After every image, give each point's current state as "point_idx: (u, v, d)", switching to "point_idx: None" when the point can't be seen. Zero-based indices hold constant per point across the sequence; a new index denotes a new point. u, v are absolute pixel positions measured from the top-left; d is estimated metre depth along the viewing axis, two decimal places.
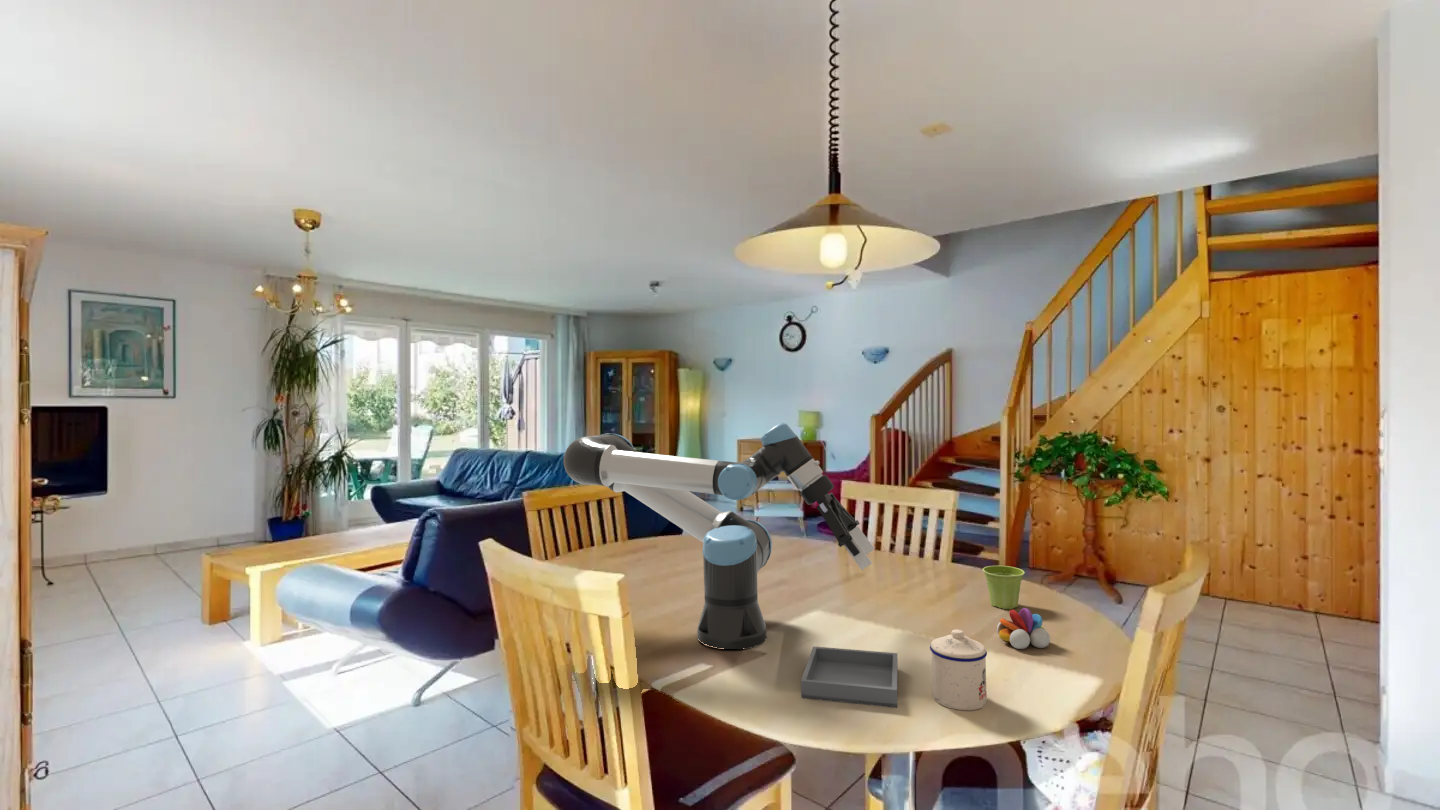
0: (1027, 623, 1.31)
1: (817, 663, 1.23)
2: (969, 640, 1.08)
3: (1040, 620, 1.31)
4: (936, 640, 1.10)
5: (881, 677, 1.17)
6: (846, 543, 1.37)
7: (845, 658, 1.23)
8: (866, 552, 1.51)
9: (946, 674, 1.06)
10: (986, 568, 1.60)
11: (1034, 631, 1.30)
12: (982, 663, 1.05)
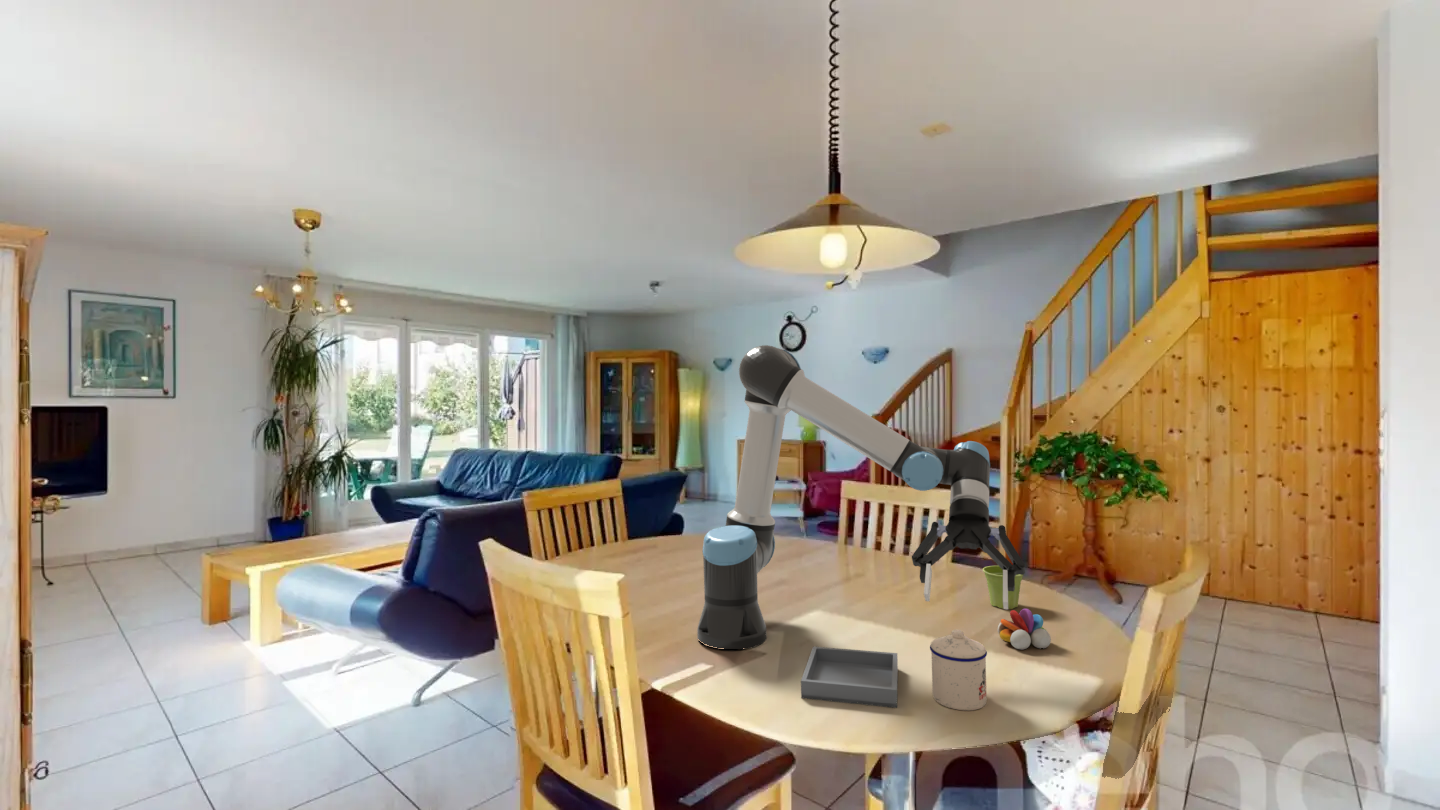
0: (1028, 623, 1.31)
1: (817, 663, 1.23)
2: (969, 640, 1.08)
3: (1041, 620, 1.31)
4: (936, 640, 1.10)
5: (881, 677, 1.17)
6: (1015, 573, 1.18)
7: (845, 658, 1.23)
8: (928, 594, 1.20)
9: (946, 674, 1.06)
10: (986, 568, 1.60)
11: (1035, 631, 1.30)
12: (982, 663, 1.05)
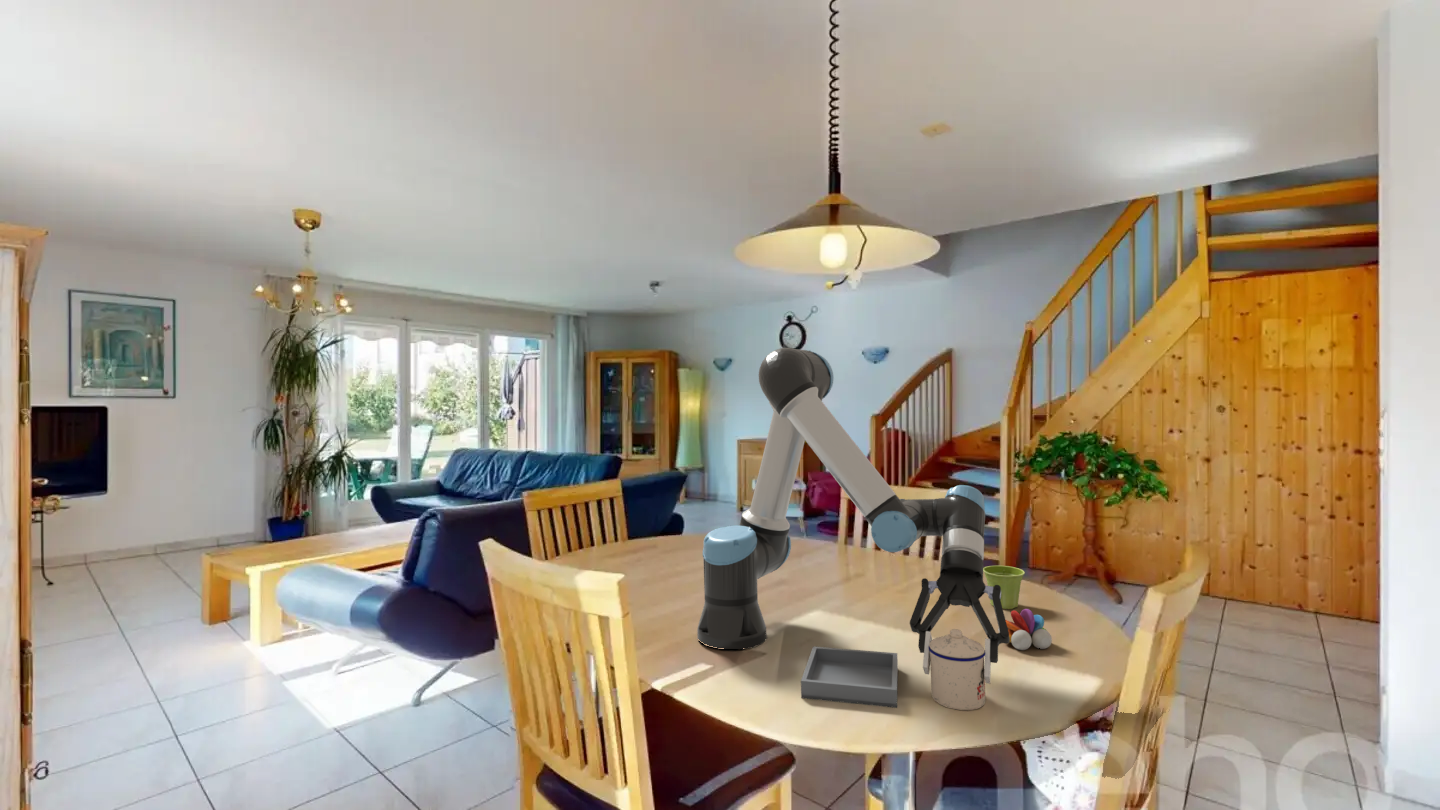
0: (1029, 624, 1.30)
1: (817, 663, 1.23)
2: (967, 640, 1.08)
3: (1042, 621, 1.31)
4: (935, 640, 1.10)
5: (881, 677, 1.17)
6: (998, 642, 1.08)
7: (845, 658, 1.23)
8: (927, 667, 1.09)
9: (944, 674, 1.06)
10: (986, 568, 1.60)
11: (1036, 632, 1.29)
12: (980, 663, 1.05)
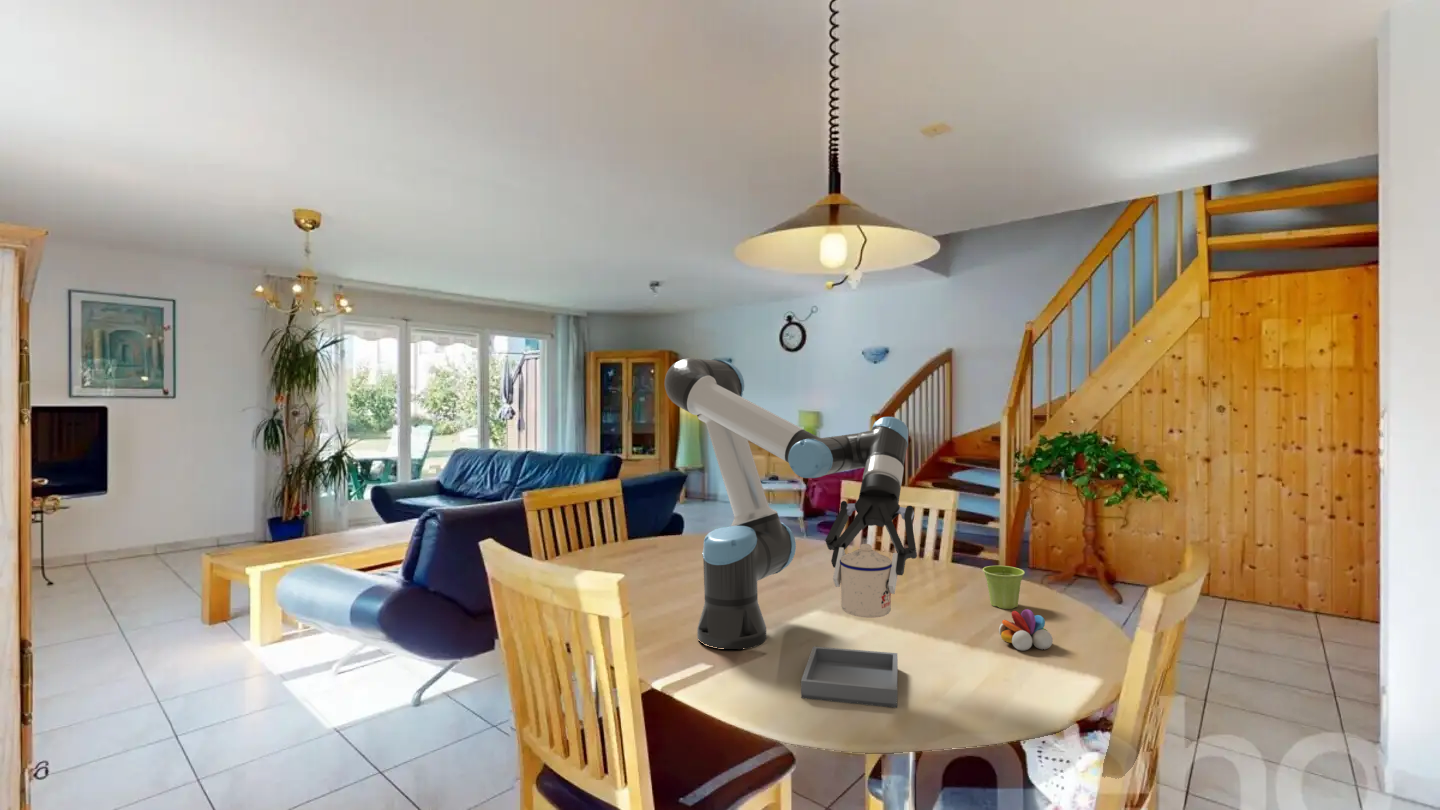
0: (1029, 624, 1.30)
1: (817, 663, 1.23)
2: (876, 553, 1.12)
3: (1042, 621, 1.31)
4: (846, 554, 1.15)
5: (881, 677, 1.17)
6: (905, 556, 1.13)
7: (845, 658, 1.23)
8: (837, 579, 1.14)
9: (851, 583, 1.11)
10: (986, 568, 1.60)
11: (1036, 632, 1.29)
12: (886, 573, 1.10)
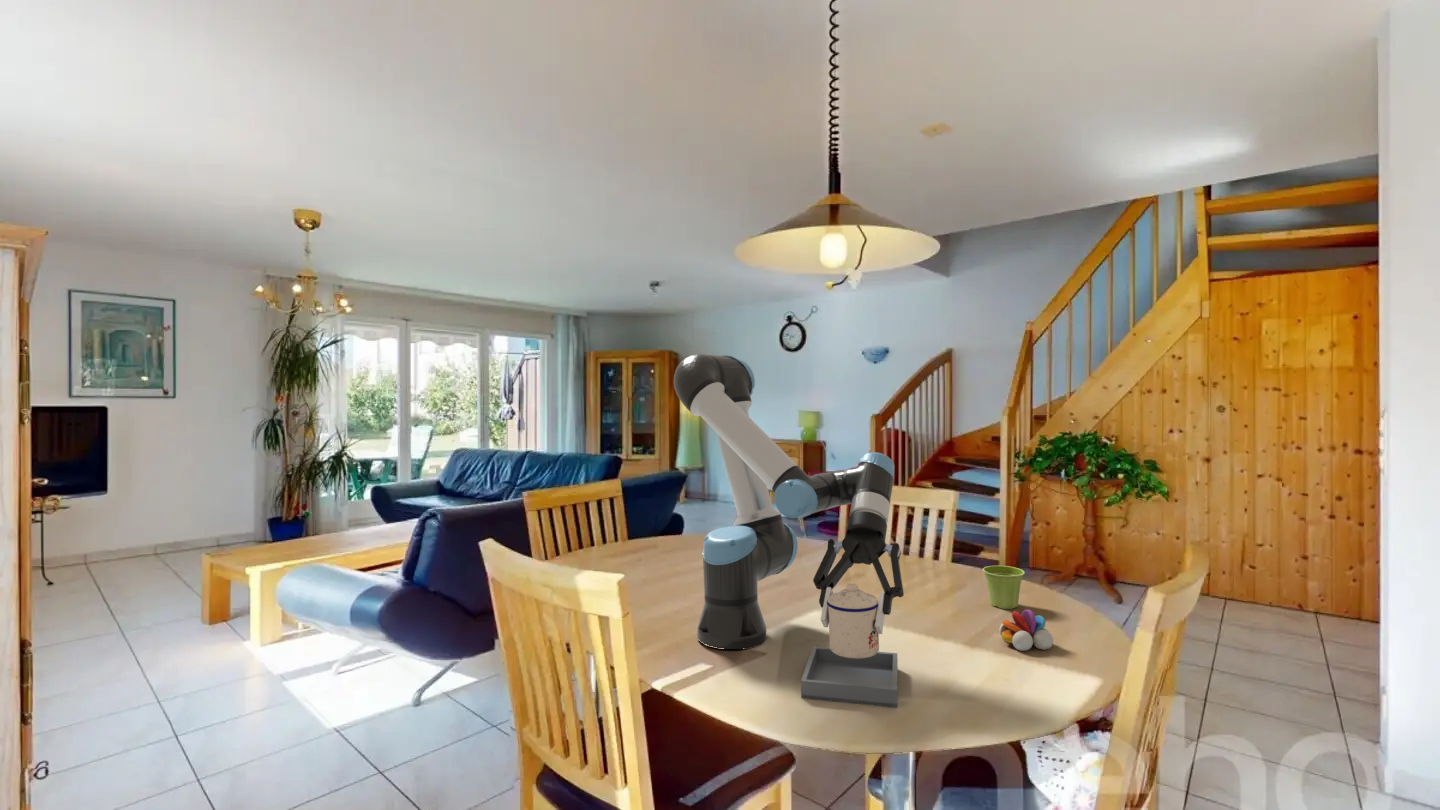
0: (1030, 625, 1.30)
1: (817, 663, 1.23)
2: (862, 593, 1.13)
3: (1043, 622, 1.30)
4: (833, 594, 1.16)
5: (881, 677, 1.17)
6: (892, 595, 1.14)
7: (845, 658, 1.23)
8: (825, 619, 1.14)
9: (838, 625, 1.11)
10: (986, 568, 1.60)
11: (1037, 633, 1.29)
12: (872, 614, 1.11)
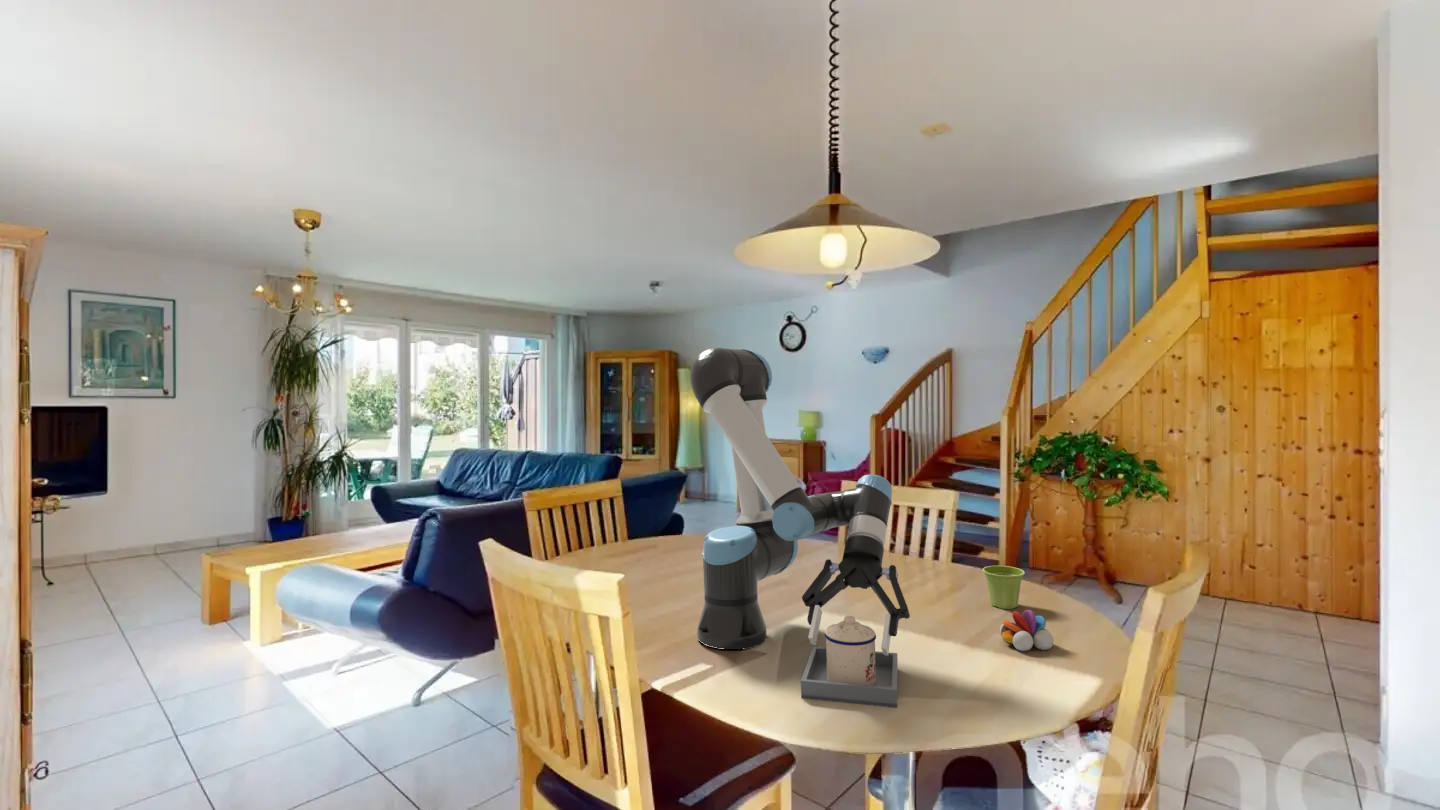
0: (1030, 625, 1.30)
1: (817, 663, 1.23)
2: (859, 626, 1.14)
3: (1043, 622, 1.30)
4: (831, 626, 1.17)
5: (881, 677, 1.17)
6: (898, 617, 1.14)
7: None
8: (813, 637, 1.16)
9: (836, 657, 1.12)
10: (986, 568, 1.60)
11: (1037, 633, 1.29)
12: (869, 647, 1.11)
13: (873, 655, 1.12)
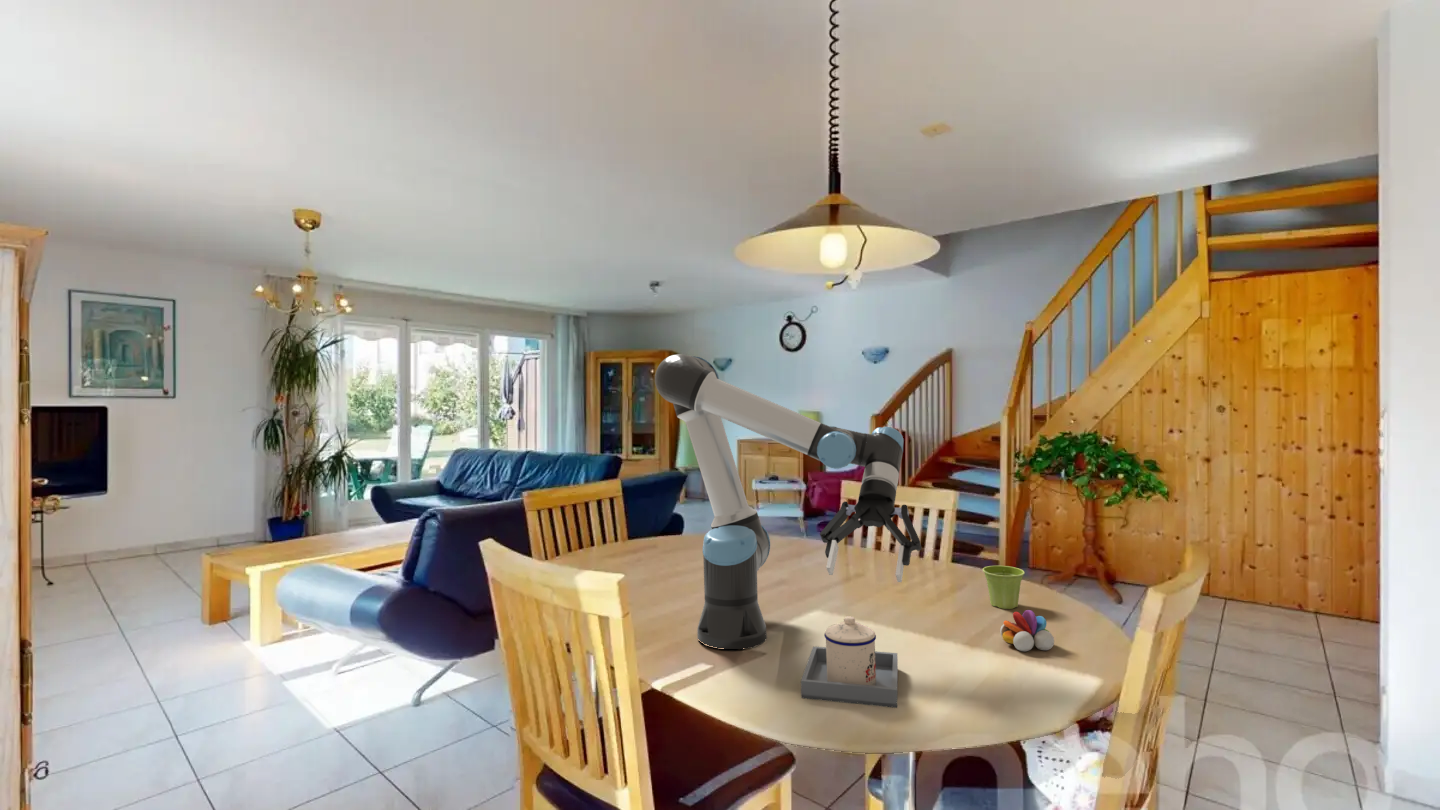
0: (1031, 625, 1.30)
1: (817, 663, 1.23)
2: (859, 626, 1.14)
3: (1044, 622, 1.30)
4: (831, 626, 1.16)
5: (881, 677, 1.17)
6: (911, 548, 1.25)
7: None
8: (830, 567, 1.28)
9: (836, 658, 1.12)
10: (986, 568, 1.60)
11: (1038, 633, 1.29)
12: (869, 647, 1.11)
13: (873, 655, 1.12)
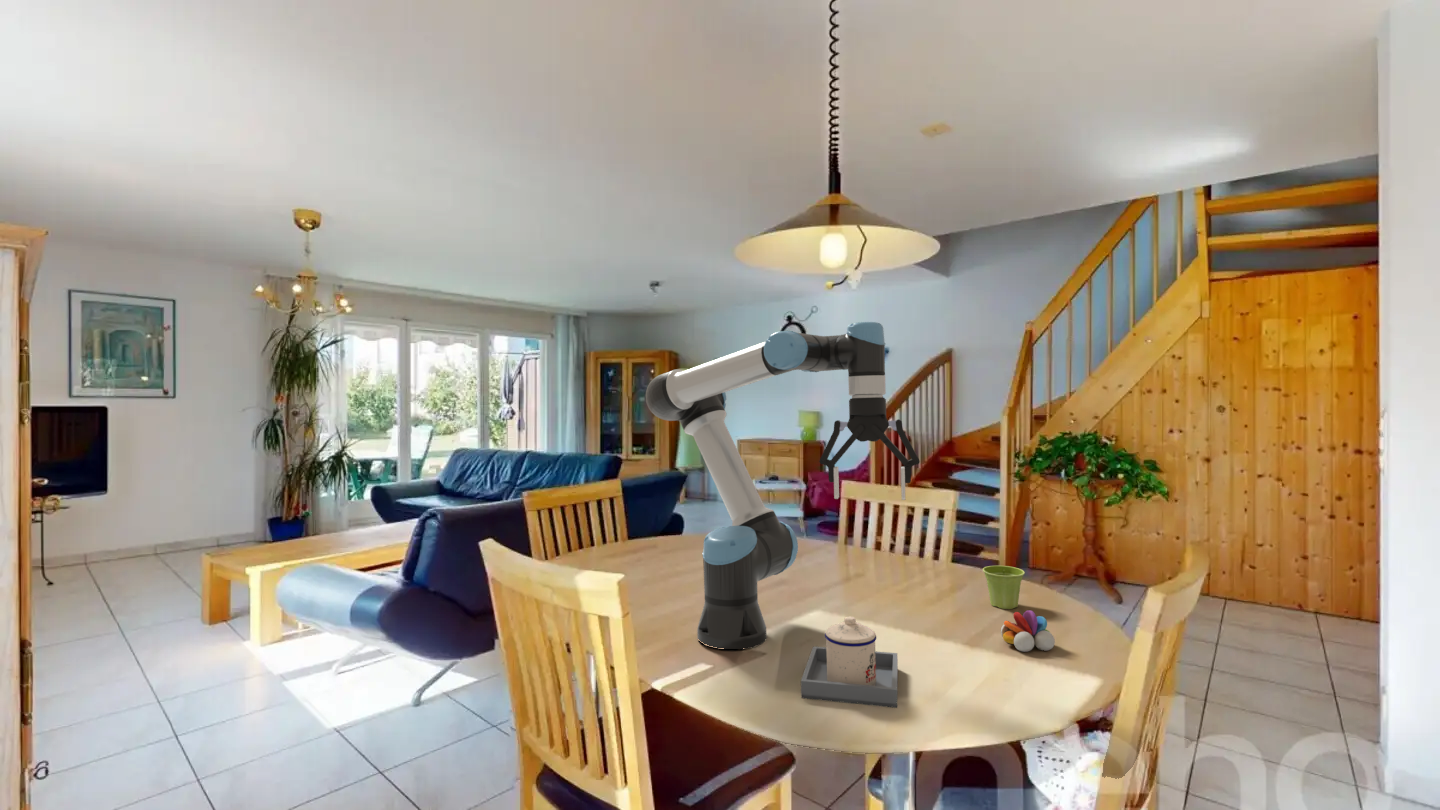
0: (1031, 625, 1.30)
1: (817, 663, 1.23)
2: (860, 626, 1.13)
3: (1045, 622, 1.30)
4: (831, 626, 1.16)
5: (881, 677, 1.17)
6: None
7: None
8: (838, 496, 1.34)
9: (836, 658, 1.12)
10: (986, 568, 1.60)
11: (1038, 633, 1.28)
12: (869, 648, 1.11)
13: (873, 656, 1.12)
